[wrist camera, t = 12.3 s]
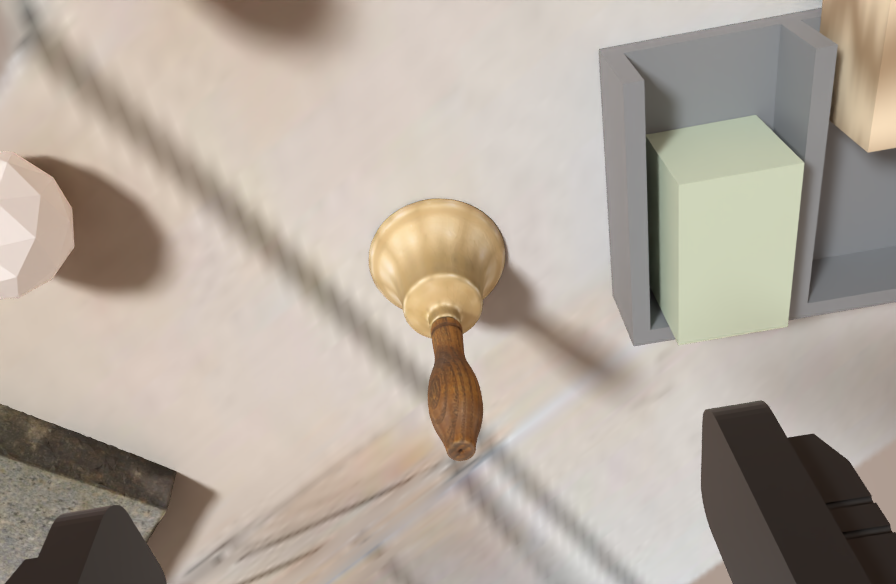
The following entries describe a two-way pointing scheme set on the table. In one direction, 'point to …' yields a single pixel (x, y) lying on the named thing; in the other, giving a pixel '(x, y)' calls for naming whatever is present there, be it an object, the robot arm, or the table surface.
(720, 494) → the robot arm
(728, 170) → the sage block
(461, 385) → the hand bell
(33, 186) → the geometric ball
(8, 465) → the stone block
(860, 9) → the wooden handled block
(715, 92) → the lane shelf
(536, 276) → the table surface
